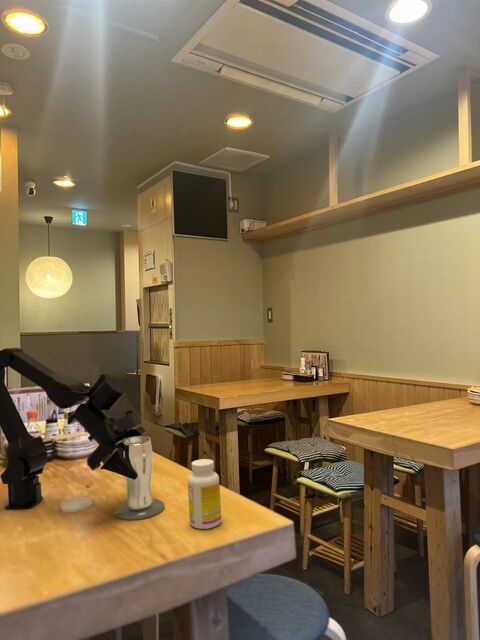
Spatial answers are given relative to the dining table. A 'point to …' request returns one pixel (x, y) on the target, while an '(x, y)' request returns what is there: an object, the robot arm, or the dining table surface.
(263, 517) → the dining table surface
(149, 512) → the coaster
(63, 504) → the dish
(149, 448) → the beer glass
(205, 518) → the supplement bottle
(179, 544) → the dining table surface
